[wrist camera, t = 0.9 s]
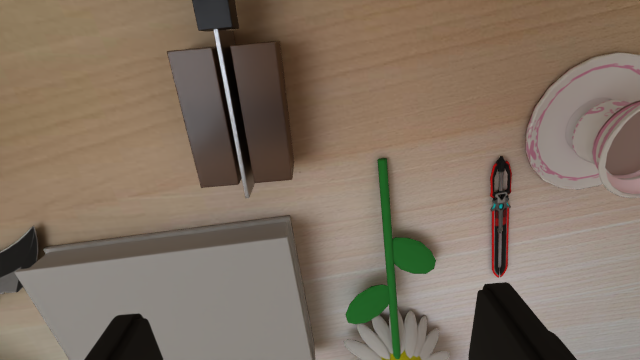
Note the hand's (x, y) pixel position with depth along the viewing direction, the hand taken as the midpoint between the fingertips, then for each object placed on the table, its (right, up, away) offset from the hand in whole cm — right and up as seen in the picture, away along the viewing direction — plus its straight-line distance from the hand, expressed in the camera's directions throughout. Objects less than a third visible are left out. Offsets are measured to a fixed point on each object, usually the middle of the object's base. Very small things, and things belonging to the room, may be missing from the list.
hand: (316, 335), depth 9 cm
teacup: (+24, +9, +20) cm, 32 cm away
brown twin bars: (-6, +14, +16) cm, 22 cm away
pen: (+18, +1, +23) cm, 29 cm away
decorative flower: (+7, -7, +26) cm, 28 cm away
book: (-14, -9, +26) cm, 31 cm away
